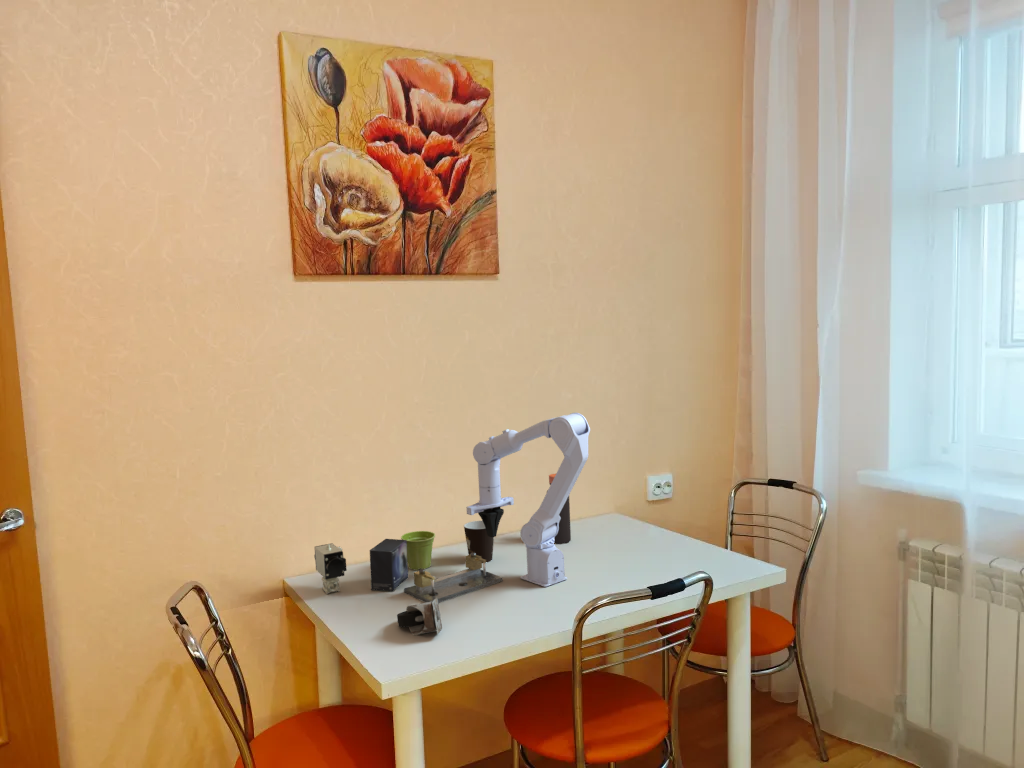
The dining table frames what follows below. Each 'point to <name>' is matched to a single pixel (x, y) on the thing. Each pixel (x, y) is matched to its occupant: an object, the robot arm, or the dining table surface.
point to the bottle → (563, 521)
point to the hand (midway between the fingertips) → (492, 536)
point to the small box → (388, 564)
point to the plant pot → (419, 548)
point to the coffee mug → (478, 540)
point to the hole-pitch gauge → (449, 584)
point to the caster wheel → (421, 618)
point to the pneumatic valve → (330, 565)
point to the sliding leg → (475, 562)
